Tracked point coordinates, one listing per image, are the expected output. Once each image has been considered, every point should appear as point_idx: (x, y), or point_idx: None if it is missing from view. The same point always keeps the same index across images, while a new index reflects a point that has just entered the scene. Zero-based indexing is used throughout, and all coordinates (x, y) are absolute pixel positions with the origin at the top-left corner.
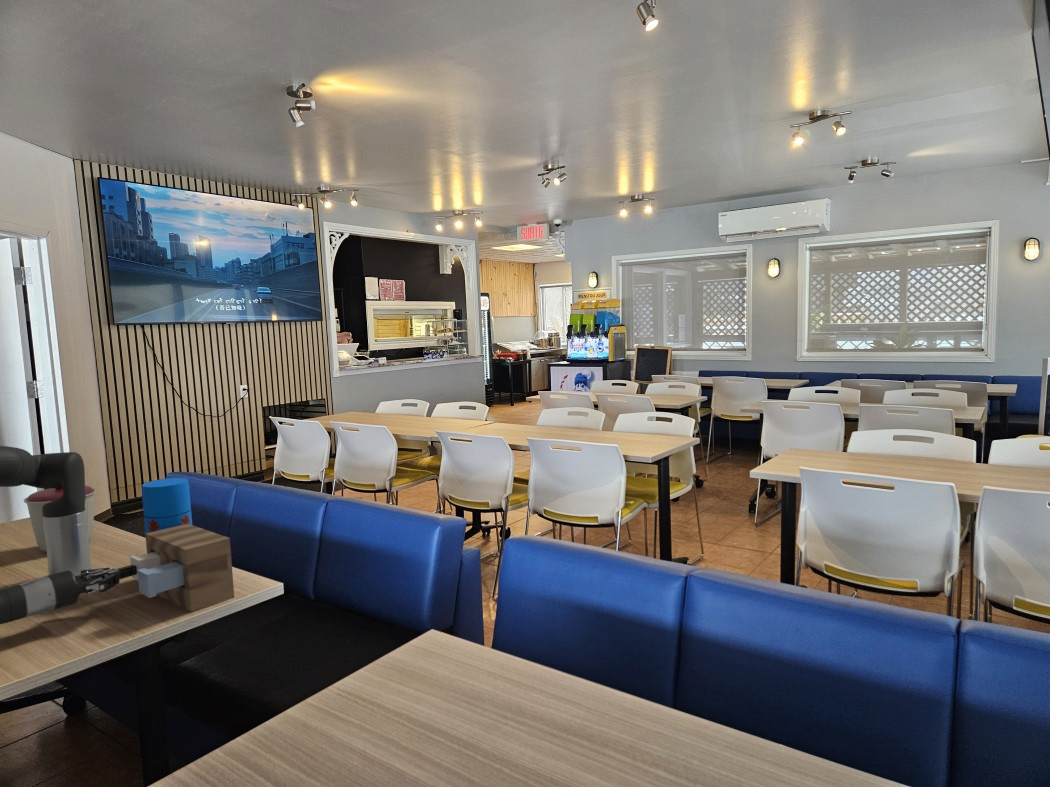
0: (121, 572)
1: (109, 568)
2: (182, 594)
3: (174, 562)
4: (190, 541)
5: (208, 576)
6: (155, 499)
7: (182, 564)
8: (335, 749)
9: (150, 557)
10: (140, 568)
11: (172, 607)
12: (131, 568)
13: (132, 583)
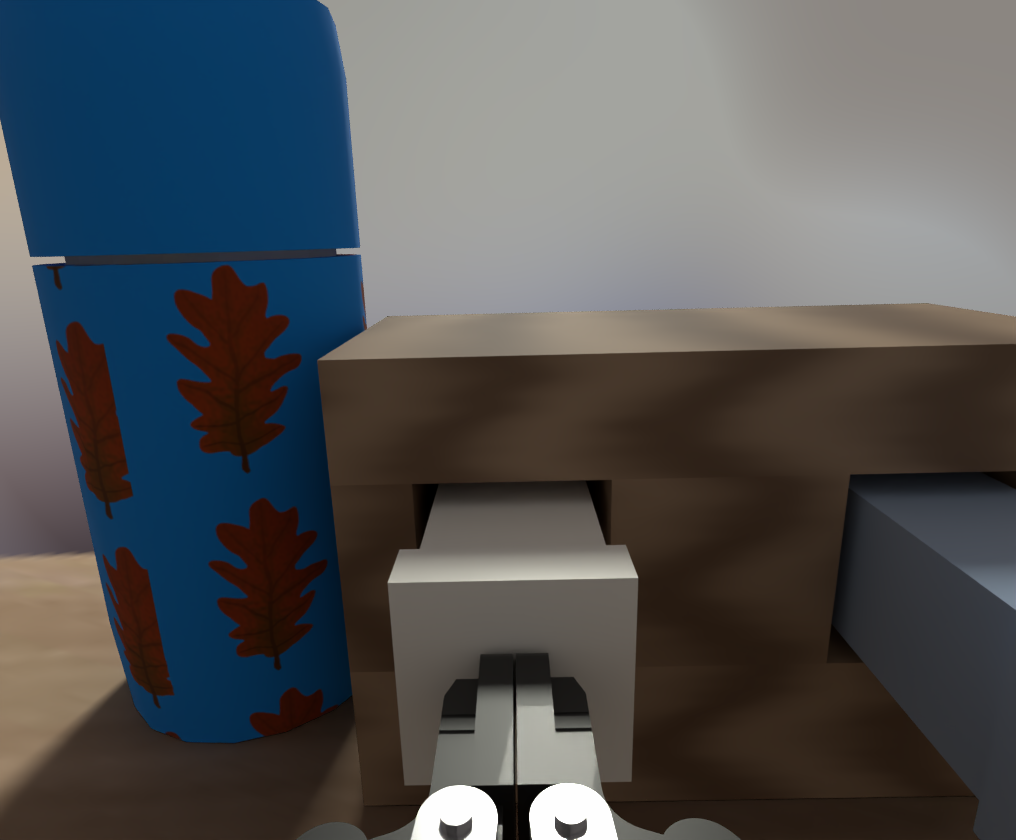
0: (603, 795)
1: (363, 835)
2: None
3: (884, 498)
4: (880, 327)
5: None
6: (244, 87)
7: (986, 490)
8: None
9: (569, 532)
10: (632, 654)
11: (864, 835)
12: (555, 694)
13: (55, 825)
